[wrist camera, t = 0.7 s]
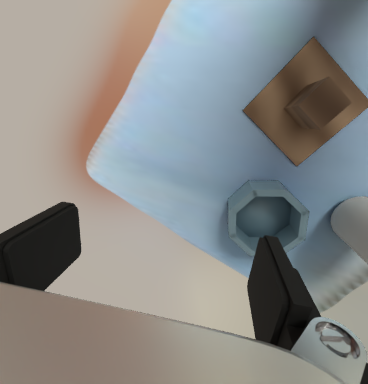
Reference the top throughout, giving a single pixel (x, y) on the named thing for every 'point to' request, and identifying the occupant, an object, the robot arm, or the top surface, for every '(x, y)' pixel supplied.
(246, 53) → the top surface
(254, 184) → the bowl
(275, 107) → the lid
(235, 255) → the top surface
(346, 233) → the can
